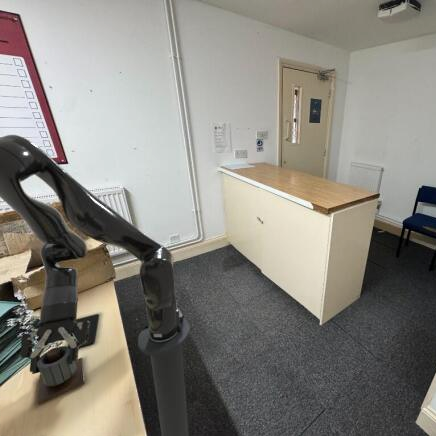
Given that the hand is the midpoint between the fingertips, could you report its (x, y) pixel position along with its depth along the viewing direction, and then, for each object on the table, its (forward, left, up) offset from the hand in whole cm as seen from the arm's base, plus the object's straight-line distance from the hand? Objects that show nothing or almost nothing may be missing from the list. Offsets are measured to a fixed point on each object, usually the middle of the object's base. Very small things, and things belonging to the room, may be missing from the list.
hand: (54, 368), depth 62 cm
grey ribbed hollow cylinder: (0, -1, -4) cm, 5 cm away
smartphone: (-6, -19, -7) cm, 21 cm away
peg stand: (0, -1, -7) cm, 7 cm away
